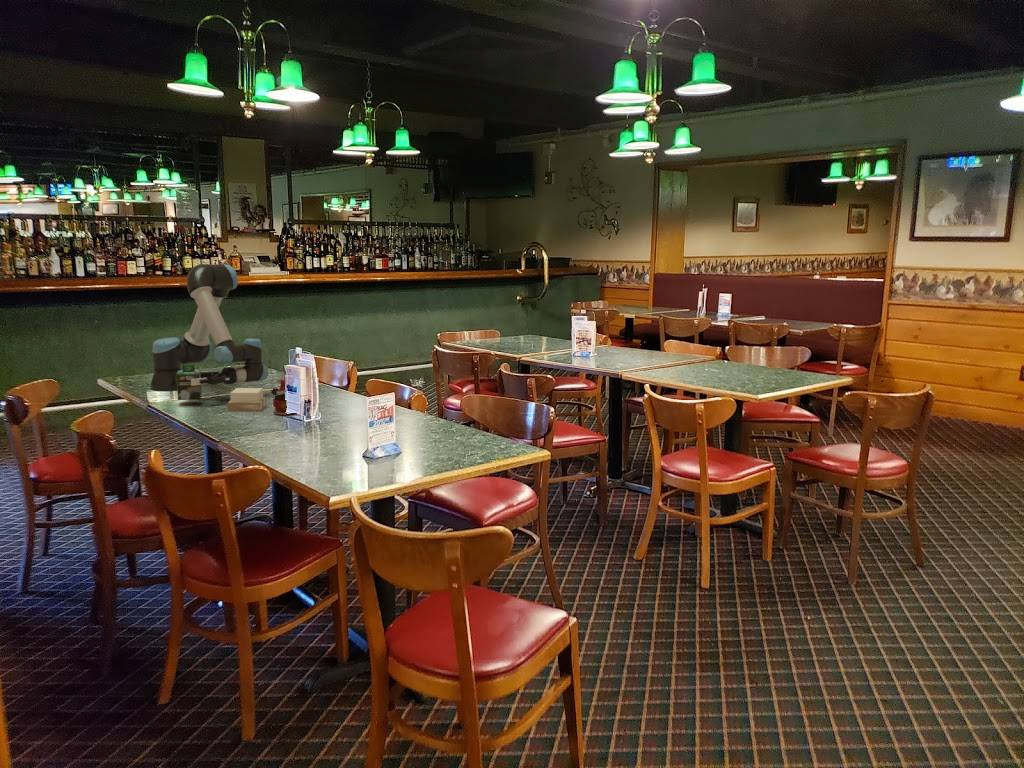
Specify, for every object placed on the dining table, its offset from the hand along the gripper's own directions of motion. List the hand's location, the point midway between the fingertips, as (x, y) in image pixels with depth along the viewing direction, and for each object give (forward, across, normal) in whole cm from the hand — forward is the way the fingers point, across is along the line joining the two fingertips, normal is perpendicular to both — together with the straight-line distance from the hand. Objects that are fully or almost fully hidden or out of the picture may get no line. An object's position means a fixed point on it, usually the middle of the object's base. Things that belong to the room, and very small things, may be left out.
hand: (184, 380), depth 313 cm
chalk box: (-2, 0, -8) cm, 8 cm away
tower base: (-16, -22, -11) cm, 29 cm away
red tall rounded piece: (-23, -41, -10) cm, 48 cm away
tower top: (-17, -21, -7) cm, 28 cm away
